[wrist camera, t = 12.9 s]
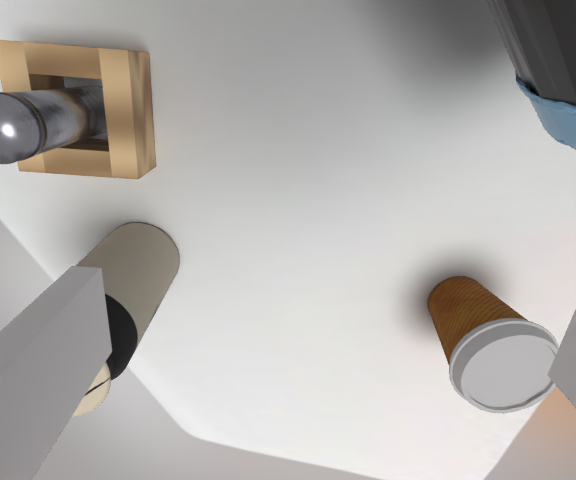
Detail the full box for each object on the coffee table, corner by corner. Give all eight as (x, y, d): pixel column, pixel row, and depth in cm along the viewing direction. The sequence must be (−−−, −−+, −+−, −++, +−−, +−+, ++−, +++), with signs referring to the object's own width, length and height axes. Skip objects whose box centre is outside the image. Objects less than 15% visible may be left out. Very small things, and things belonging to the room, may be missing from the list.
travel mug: (89, 242, 41) (-42, 356, 25) (151, 208, 40) (55, 305, 23) (135, 299, 44) (45, 436, 27) (194, 269, 43) (136, 395, 26)
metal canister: (72, 83, 35) (-51, 90, 22) (119, 87, 35) (23, 96, 22) (79, 130, 37) (-33, 162, 24) (123, 133, 37) (36, 167, 24)
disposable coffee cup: (420, 342, 47) (462, 426, 36) (407, 275, 43) (448, 345, 32) (501, 323, 46) (569, 404, 35) (494, 253, 42) (569, 317, 31)
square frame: (32, 43, 34) (-8, 39, 29) (149, 53, 34) (127, 50, 29) (51, 158, 38) (19, 171, 33) (155, 166, 38) (138, 179, 33)
